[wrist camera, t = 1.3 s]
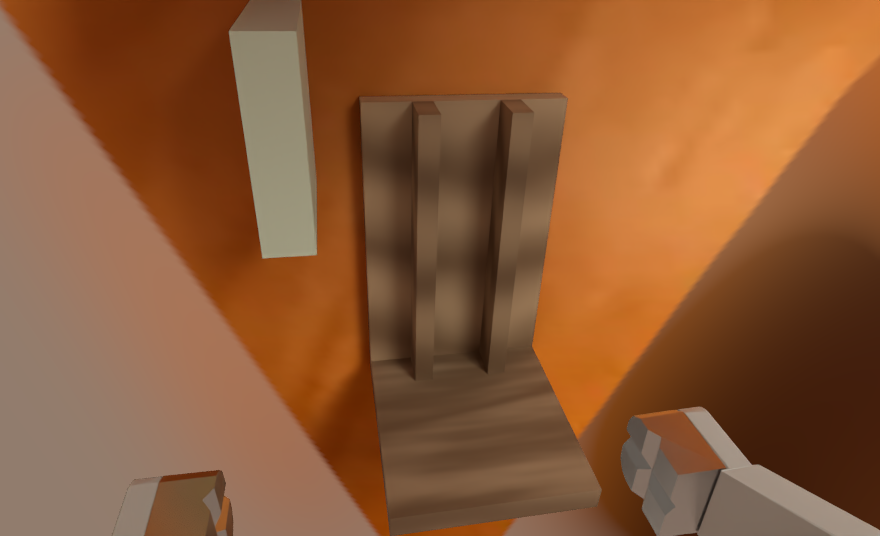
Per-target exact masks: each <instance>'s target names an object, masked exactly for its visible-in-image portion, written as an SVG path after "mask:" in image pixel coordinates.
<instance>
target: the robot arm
mask: <svg viewBox="0 0 880 536" xmlns="http://www.w3.org/2000/svg"><path fill="white" fill-rule="evenodd" d="M627 431H628V432H629V434H630V436H631V437H630V439H628V440H627V441H626V442H625V444H624V445H623V448H622V454H621V463H622V470H623V473H624V476H625V479H626V481H627V483H628V485H629V487H630V489H631V491H633V492H634V493H636V494H637V495H639V496H641V497H642V498H643V499H644V501H643V506H642V510H643V512H644V514H645V515H646V517H647V519H648V521H649V522H650V524H651V526H652V527H653V529H654V531H655V533H656V535H657V536H674V535H681V534H689V533H696V532H698V535H699V536H880V530H878V529H876V528H875V527H873V526H871V525H869V524H867V523H865V522H863V521H862V520H860V519H858V518H856V517H854V516H852V515H851V514H849V513H847V512H845V511H843V510H841V509H839V508H838V507H836V506H834V505H832V504H830V503H828V502H826V501H825V500H823V499H821V498H819V497H817V496H816V495H814V494H812V493H810V492H808V491H806V490H804V489H803V488H800V487H799V486H797V485H795V484H793V483H791V482H790V481H788V480H786V479H784V478H782V477H780V476H779V475H777V474H775V473H773V472H771V471H769V470H768V469H766V468H764V467H762V466H760V465H751V464H750V462H749V461H748V460H747V459H746V458H745V456H744V455H743V454H742V453H741V451H740V450H739V449H738V448H737V447H736V445H735V444H734V443H733V442H732V441H731V439H730V438H729V437H728V436H727V434H726V433H725V432H724V431H723V430H722V429H721V427H720V426H719V425H718V423H717V422H716V421H715V420H714V419H713V418H712V416H711V415H710V414H709V412H708V411H707V410H705V409H704V408H702V407H694V408H687V409H679V410H670V411H663V412H656V413H650V414H642V415H636V416H633V417H632V418H631V419H630V420H629V423H628V427H627ZM225 484H226V483H225V479H224V476H223V472H222V471H220V470H216V471H206V472H197V473H187V474H178V475H169V476H163V477H153V478H144V479H135V480H133V482H132V483H131V484H130V486H129V487H128V489H127V492H126V495H125V498H124V501H123V504H122V507H121V510H120V512H119V516H118V518H117V521H116V524H115V527H114V530H113V533H112V536H233V515H232V507H231V503H230V499H228V498H227V497H225V496H224V491H225Z"/></svg>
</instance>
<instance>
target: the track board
mask: <svg viewBox="0 0 880 536" xmlns="http://www.w3.org/2000/svg"><path fill="white" fill-rule="evenodd" d="M567 101H568V98H567V97H565V96H564V95H563V94H561V93H527V94H471V95H416V96H360V97H359V103H360V128H361V152H362V176H363V200H364V224H365V248H366V272H367V296H368V320H369V344H370V367H371V376H372V384H373V393H374V401H375V410H376V418H377V427H378V436H379V444H380V453H381V461H382V470H383V478H384V487H385V496H386V504H387V513H388V521H389V530H390V536H395V535H402V534H409V533H416V532H423V531H430V530H437V529H444V528H451V527H457V526H464V525H471V524H478V523H485V522H492V521H499V520H506V519H513V518H520V517H527V516H534V515H541V514H548V513H555V512H562V511H569V510H576V509H582V508H589V507H596V506H597V505H598V501H599V497H600V494H601V487H600V485H599V483H598V481H597V479H596V477H595V475H594V473H593V471H592V469H591V467H590V465H589V463H588V461H587V459H586V457H585V455H584V452H583V451H582V448H581V446H580V444H579V442H578V440H577V438H576V436H575V434H574V432H573V430H572V428H571V426H570V424H569V422H568V420H567V417H566V415H565V413H564V411H563V409H562V407H561V405H560V403H559V401H558V399H557V397H556V395H555V393H554V391H553V389H552V387H551V385H550V383H549V380H548V378H547V376H546V374H545V372H544V370H543V368H542V366H541V364H540V362H539V360H538V358H537V356H536V354H535V352H534V350H533V348H532V342H533V335H534V328H535V321H536V315H537V308H538V301H539V294H540V287H541V280H542V273H543V266H544V259H545V253H546V246H547V239H548V232H549V225H550V218H551V211H552V204H553V197H554V191H555V184H556V177H557V170H558V163H559V156H560V149H561V142H562V135H563V129H564V122H565V115H566V108H567Z"/></svg>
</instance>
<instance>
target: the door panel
mask: <svg viewBox="0 0 880 536" xmlns="http://www.w3.org/2000/svg"><path fill="white" fill-rule="evenodd" d="M229 38H230V44H231V51H232V58H233V64H234V71H235V78H236V84H237V91H238V98H239V105H240V111H241V118H242V125H243V131H244V138H245V145H246V151H247V158H248V165H249V171H250V178H251V185H252V192H253V198H254V205H255V212H256V218H257V225H258V232H259V238H260V245H261V252H262V258H277V257H294V256H310V255H317V178H316V166H315V154H314V143H313V131H312V120H311V108H310V96H309V85H308V73H307V61H306V50H305V38H304V26H303V15H302V3H301V0H250V1H249V2H248V4H247V5H246V6H245V8H244V9H243V11H242V12H241V14H240V15H239V17H238V18H237V20H236V21H235V23H234V24H233V25H232V27H231V28H230V30H229Z"/></svg>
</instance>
